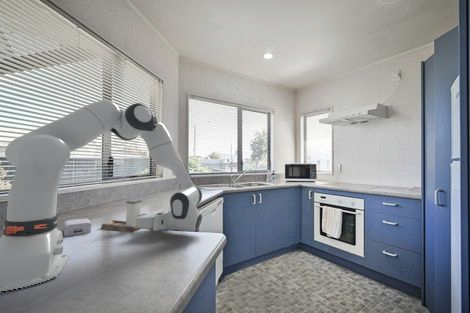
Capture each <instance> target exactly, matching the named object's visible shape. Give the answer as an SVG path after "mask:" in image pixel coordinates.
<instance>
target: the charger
mask: <svg viewBox="0 0 470 313" xmlns="http://www.w3.org/2000/svg"><path fill="white" fill-rule="evenodd" d="M91 229H92V223H91V221H90V219H89V218H78V219H67V220H65V221H64V222H63V235H64V237H70V236H77V235H84V234H90V233H91V232H92V230H91Z"/></svg>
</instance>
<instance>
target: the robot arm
mask: <svg viewBox="0 0 470 313" xmlns="http://www.w3.org/2000/svg"><path fill="white" fill-rule="evenodd" d="M108 131H110V132H111V133H113V134H114V135H115V136H116V137H117V138H119V139H120V140H123V141H132V140H135V139H136V138H137V137H140V138H141V139H142V140H143V141H144V142H145V145H146V146H147V150H148V152H149V155H150V157H151V159H152V160H153V162H154V163H155V164H156V165H157V166H159V167H161V168H166V169H168V170H170V171H172V173H173V174H174V175H175V177H176V180H177V181H178V183H179V186H180V190H178V191H176V192H175V193H173V194H172V196H171V197H170V199H169V205H170V208H159V209H158V210H157V209H156V210H154V211H151V212H148V213H144V212H143V213H140V215H138V217H137V218H136V226H137V227H141V228H142V229H149V230H150V229H152V230H153V231H155V232H158V231H161V230H178V231H181V232H182V231H185V232H192V231H197V230H198V228H200V227H201V223H202V220H203V216H202V213H201V212H200V210H198V209H199V208H197V205H198V204H200V203H201V202H202V199H203V193H202V190H201V189H200V188H199V186H198V185H197V184H196V183H195V182H194V180H193V178H192V176H191V174H190V172H189V169H188V168H187V166H186V164H185V162H184V161H183V158H182V157H181V155H180V154H179V152H178V149H177V147H176V145H175V142H174V140H173V138H172V136H171V134H170V131H169V130H168V129H167V127H166V126H165V124H164V123H162V122H160V121H158V119H157V116H155V114H154V112H153V111H152V109H151V108H150V107H149V106H147V105H146V104H145V103H143V102H142V103H140V102H137V103H133V104H131V105H129V106H127V108H126V109H125V110H124V109H121V108H119V106H118V105H117V104H116V103H115V102H113V101H112V100H109V99H102V100H98V101H95V102H92V103H89V104H87V105H85V106H82V107H81V108H78V109H77V110H75V111H73V112H71V113H68V114H67V115H65V116H62V117H61V118H59V119H57V120H53V121H52V122H50V123H47V124H45V125H43V126H40V127H38V128H36V129H33V130H31V131H29V132H27V133H25V134H23V135H21V136H18V137H17V138H15V139H13V140H11V141H10V142H9V143H8V144H7V146H6V148H5V151H4V156H5V159H6V160H7V162H8V163H9V164H10V165H11V166H12V167H15V171H14V176H13V180H12V183H11V187H9V188H10V189H9V191H8V193H7V194H8V195H7V196H8V197H7V208H6V209H7V210H6V219H4V221H3V222H4V223H3V225H2V234H3V235H2V236H1V237H0V291H6V292H8V291H7V290H12V291H14V290H13V289H16V290H19V289H18V288H21V289H24V288H23V287H25V288H28V287H27V286H29V287H31V286H30V285H33V286H35V285H34V284H37V283H40V282H43V281H46V280H48V279H52V278H54V277H56V276H58V277H59V275H60V274H59V273H61V271H63V268H64V267H65V265H66V263H67V261H68V259H69V258H70V256H69V255H70V254H69V253H65V252H63V250H64V246H63V243H64V239H63V232H62V231H61V230H59V229H58V228H57V226H58V222H59V221H58V220H59V219H58V214H57V206H58V191H59V187H60V183H61V180H62V176H63V174H64V170H65V166H66V165H67V164H68V162H69V160H70V159H71V152H74V151H76V150H78V149H80V148H82V147H85V146H86V145H88V144H89V143H91V142H93V141H94V140H96V139H97V138H99V137H100V136H103V135H104V134H105V133H106V132H108ZM58 274H59V275H58ZM56 278H57V277H56ZM54 279H55V278H54ZM52 280H53V279H52ZM40 284H41V283H40ZM37 285H38V284H37Z"/></svg>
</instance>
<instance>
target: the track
mask: <svg viewBox="0 0 470 313" xmlns="http://www.w3.org/2000/svg"><path fill="white" fill-rule="evenodd" d="M140 228H141V227H137V226H136V227H130V226H126V220H125V221H124V220H115V219H113V220H112V222H108V223H101V229H103V230H112V231H120V232H128V231H130V232H129V233H134V231H135V232H137V231H139V230H138V229H140ZM136 230H137V231H136ZM140 230H141V229H140Z"/></svg>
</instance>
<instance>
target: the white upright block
mask: <svg viewBox="0 0 470 313" xmlns="http://www.w3.org/2000/svg"><path fill="white" fill-rule="evenodd" d="M141 203H142V200H141V199H130V200H129V199H128V200H127V201H126V203H125V204H126V216H125V221H126V226H130V227H136V218H137V217H138V215H140V214H141Z"/></svg>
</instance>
